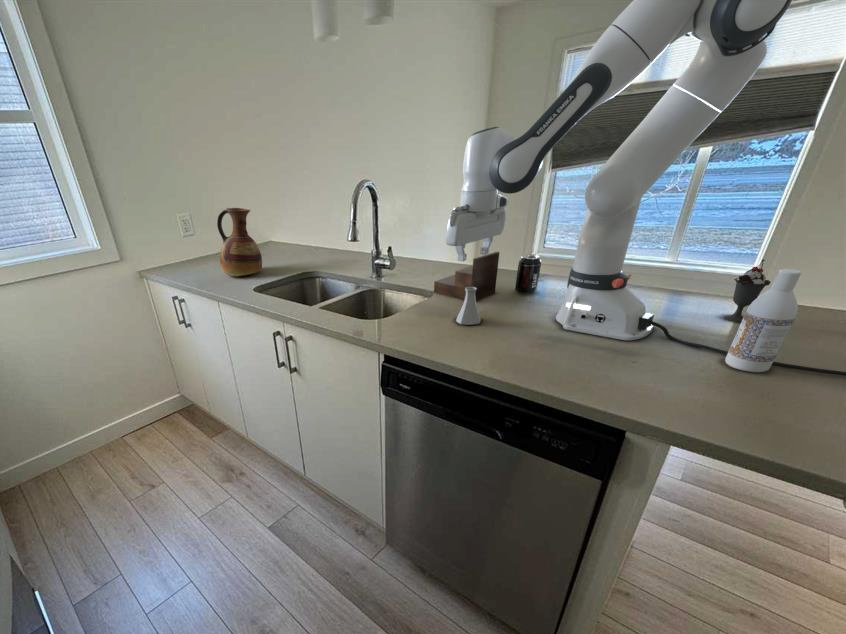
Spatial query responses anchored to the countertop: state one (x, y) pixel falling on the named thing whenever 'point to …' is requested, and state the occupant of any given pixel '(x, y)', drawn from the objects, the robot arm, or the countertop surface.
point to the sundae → (747, 291)
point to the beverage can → (528, 274)
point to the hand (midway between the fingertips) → (473, 257)
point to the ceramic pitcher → (238, 246)
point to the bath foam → (765, 325)
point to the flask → (469, 309)
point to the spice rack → (471, 278)
